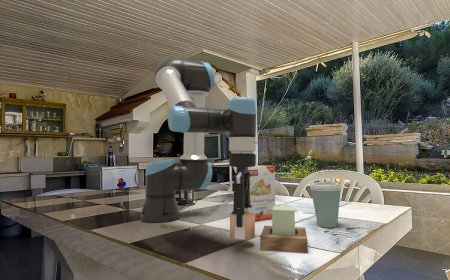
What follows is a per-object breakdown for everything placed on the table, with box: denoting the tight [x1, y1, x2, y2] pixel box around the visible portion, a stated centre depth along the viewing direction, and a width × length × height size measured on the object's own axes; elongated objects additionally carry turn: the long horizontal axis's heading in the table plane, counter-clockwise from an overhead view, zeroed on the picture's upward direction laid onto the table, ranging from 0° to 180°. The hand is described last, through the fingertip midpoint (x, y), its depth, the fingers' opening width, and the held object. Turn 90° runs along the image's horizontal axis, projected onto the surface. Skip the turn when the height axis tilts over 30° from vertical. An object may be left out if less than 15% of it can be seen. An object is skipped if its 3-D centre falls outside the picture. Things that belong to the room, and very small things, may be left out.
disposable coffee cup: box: [309, 181, 342, 228], centre depth 102 cm, size 11×11×15 cm
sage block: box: [271, 205, 296, 236], centre depth 81 cm, size 6×6×8 cm
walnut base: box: [259, 225, 309, 254], centre depth 80 cm, size 12×12×4 cm
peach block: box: [229, 212, 256, 241], centre depth 81 cm, size 7×7×6 cm
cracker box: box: [248, 165, 276, 222], centre depth 112 cm, size 14×6×21 cm, turn 117°
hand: (242, 234), depth 80 cm, fingers closed on peach block, 7 cm apart
